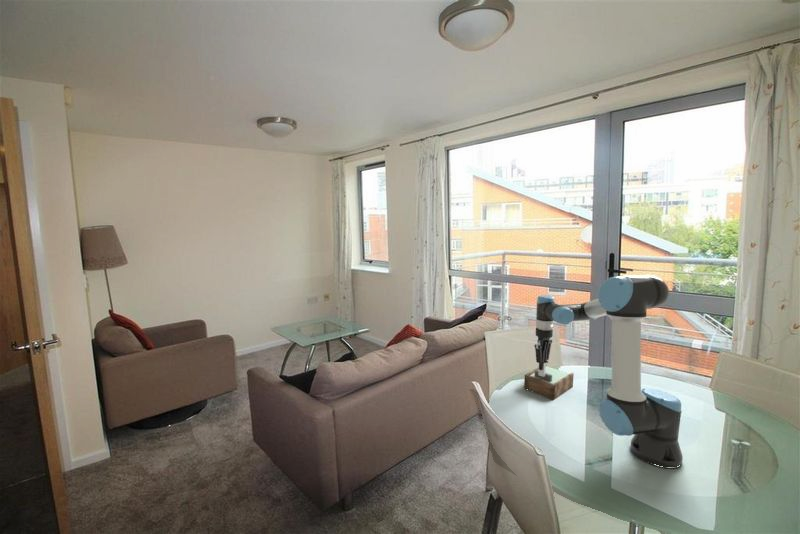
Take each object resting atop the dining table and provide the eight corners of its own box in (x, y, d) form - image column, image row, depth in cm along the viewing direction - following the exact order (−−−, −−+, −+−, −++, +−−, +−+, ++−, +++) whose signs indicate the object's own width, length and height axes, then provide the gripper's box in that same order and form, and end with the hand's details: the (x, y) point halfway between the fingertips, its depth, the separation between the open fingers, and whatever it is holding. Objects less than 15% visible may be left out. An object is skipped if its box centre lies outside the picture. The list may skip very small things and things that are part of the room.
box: (553, 400, 167) (554, 385, 166) (524, 388, 179) (524, 374, 178) (572, 387, 180) (573, 373, 179) (544, 377, 192) (544, 364, 191)
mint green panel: (554, 385, 169) (554, 377, 169) (529, 377, 179) (529, 369, 178) (570, 375, 180) (570, 368, 180) (546, 367, 190) (546, 360, 189)
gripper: (545, 332, 163) (542, 382, 167) (558, 327, 172) (555, 374, 175) (529, 329, 169) (527, 376, 172) (543, 323, 177) (541, 369, 181)
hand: (541, 375), depth 174 cm, fingers closed
